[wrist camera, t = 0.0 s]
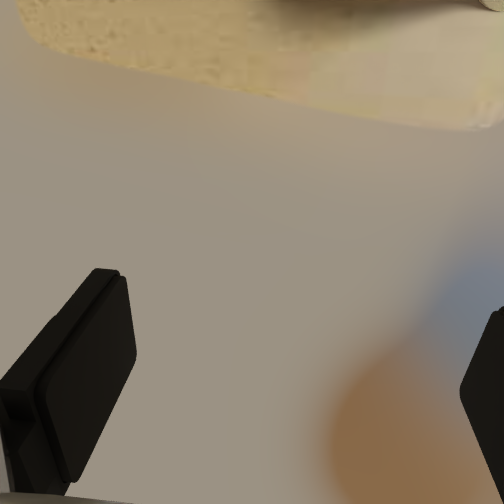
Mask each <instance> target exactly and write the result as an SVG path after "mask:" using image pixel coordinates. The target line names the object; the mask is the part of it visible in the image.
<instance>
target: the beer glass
mask: <svg viewBox="0 0 504 504" xmlns="http://www.w3.org/2000/svg"><path fill="white" fill-rule="evenodd" d="M479 2H480V3H481V4H482V5H484V6H485V7H487V8H489V9H491V10H495V11H504V0H479Z"/></svg>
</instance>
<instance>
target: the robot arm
mask: <svg viewBox="0 0 504 504" xmlns="http://www.w3.org/2000/svg"><path fill="white" fill-rule="evenodd" d="M136 355H137V350H136V343H135V336H134V329H133V322H132V315H131V308H130V301H129V294H128V288H127V282H126V278H125V277H124V276H120V273H119V271H117V270H112V269H101V268H96V269H94V270H93V271H92V272H91V273H90V274H89V276H88V277H87V278H86V279H85V280H84V282H83V283H82V284H81V285H80V286H79V288H78V289H77V290H76V291H75V293H74V294H73V295H72V296H71V298H70V299H69V300H68V301H67V302H66V304H65V305H64V306H63V307H62V309H61V310H60V311H59V312H58V313H57V315H55V316H54V317H53V318H52V319H51V320H50V321H49V322H48V323H47V324H46V325H45V327H44V328H43V329H42V330H41V331H40V333H39V334H38V335H37V336H36V338H35V339H34V340H33V341H32V342H31V344H30V345H29V346H28V347H27V349H26V350H25V351H24V352H23V353H22V355H21V356H20V357H19V358H18V359H17V361H16V362H15V363H14V364H13V365H12V367H11V368H10V369H9V370H8V372H7V373H6V374H5V375H4V376H3V378H2V379H1V380H0V504H132V503H124V502H115V501H106V500H96V499H87V498H78V497H69V496H64V495H65V493H66V491H67V489H68V487H69V485H70V483H71V482H73V483H75V482H77V481H78V480H79V478H80V477H81V475H82V472H83V471H84V468H85V466H86V464H87V462H88V460H89V458H90V456H91V454H92V452H93V450H94V448H95V446H96V443H97V441H98V439H99V437H100V435H101V433H102V431H103V429H104V427H105V424H106V422H107V420H108V418H109V416H110V414H111V412H112V410H113V408H114V406H115V404H116V402H117V399H118V397H119V395H120V393H121V391H122V389H123V387H124V385H125V383H126V381H127V379H128V377H129V374H130V372H131V370H132V368H133V366H134V364H135V361H136ZM460 399H461V402H462V404H463V407H464V409H465V412H466V414H467V416H468V419H469V421H470V424H471V426H472V429H473V431H474V433H475V436H476V438H477V441H478V443H479V446H480V448H481V450H482V453H483V455H484V458H485V460H486V463H487V465H488V467H489V470H490V472H491V475H492V477H493V480H494V482H495V484H496V487H497V489H498V492H499V494H500V497H501V499H502V501H503V504H504V306H503V307H501V308H500V309H499V311H494V312H493V313H492V314H491V316H490V319H489V321H488V323H487V325H486V327H485V330H484V332H483V335H482V337H481V339H480V341H479V344H478V346H477V348H476V351H475V353H474V356H473V358H472V360H471V362H470V364H469V367H468V369H467V371H466V374H465V376H464V378H463V381H462V383H461V385H460Z"/></svg>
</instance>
